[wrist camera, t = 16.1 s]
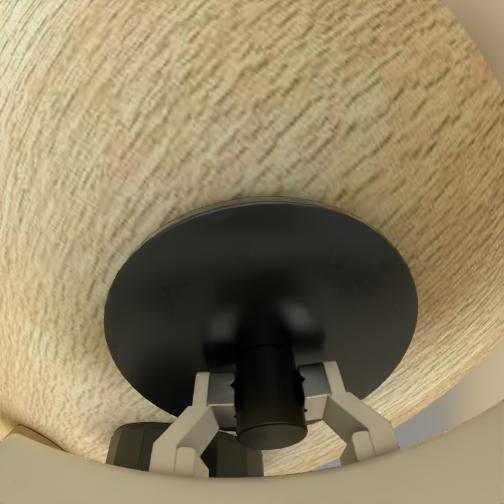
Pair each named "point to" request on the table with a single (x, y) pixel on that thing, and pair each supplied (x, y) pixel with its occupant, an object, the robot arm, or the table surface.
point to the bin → (214, 456)
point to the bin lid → (260, 309)
